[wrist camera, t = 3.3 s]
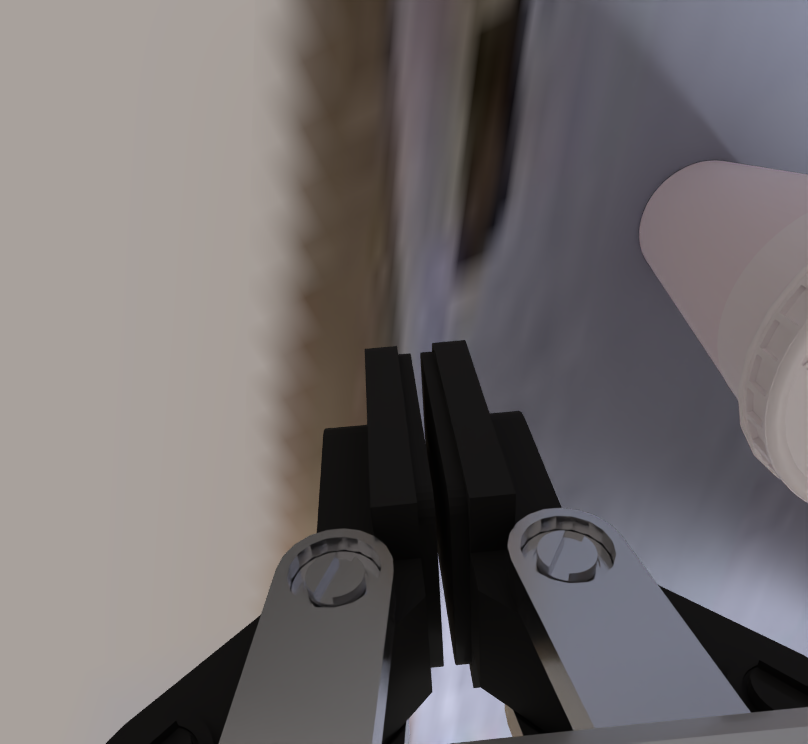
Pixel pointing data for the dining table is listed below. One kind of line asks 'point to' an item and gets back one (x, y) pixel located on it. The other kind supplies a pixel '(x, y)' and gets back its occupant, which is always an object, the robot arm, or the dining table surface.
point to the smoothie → (743, 293)
